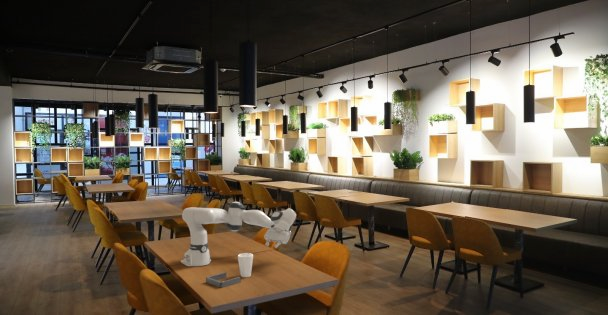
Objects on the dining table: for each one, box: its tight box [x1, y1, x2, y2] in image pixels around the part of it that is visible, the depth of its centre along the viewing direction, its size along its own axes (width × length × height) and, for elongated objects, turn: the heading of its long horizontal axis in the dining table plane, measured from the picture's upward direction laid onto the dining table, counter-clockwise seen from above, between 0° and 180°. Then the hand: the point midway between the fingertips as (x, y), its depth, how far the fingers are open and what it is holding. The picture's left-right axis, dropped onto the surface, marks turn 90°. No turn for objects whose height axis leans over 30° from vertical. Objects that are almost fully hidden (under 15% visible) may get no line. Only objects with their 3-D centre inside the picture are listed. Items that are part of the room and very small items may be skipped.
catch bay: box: [205, 271, 241, 289], centre depth 247 cm, size 15×14×3 cm
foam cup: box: [237, 252, 254, 278], centre depth 259 cm, size 10×9×13 cm
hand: (270, 246), depth 275 cm, fingers open, 7 cm apart
